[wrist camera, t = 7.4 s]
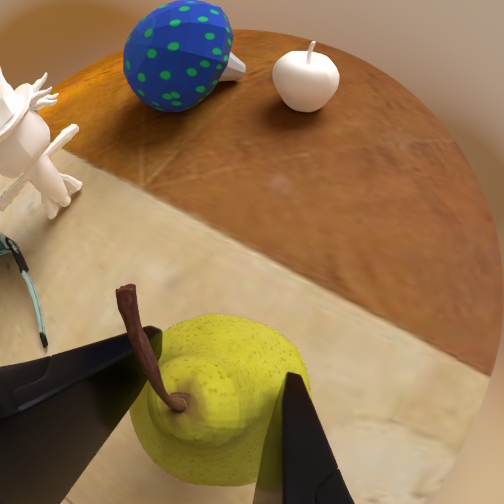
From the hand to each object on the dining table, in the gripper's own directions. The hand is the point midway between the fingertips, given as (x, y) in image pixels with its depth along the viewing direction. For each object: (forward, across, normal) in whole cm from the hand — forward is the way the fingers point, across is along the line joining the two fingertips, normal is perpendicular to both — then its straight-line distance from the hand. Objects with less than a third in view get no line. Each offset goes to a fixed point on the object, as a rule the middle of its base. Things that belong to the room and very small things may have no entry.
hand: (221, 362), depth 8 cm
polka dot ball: (+27, +16, -11) cm, 33 cm away
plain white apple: (+28, +2, -12) cm, 31 cm away
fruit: (+4, 0, +6) cm, 7 cm away
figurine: (+14, +22, +2) cm, 26 cm away
